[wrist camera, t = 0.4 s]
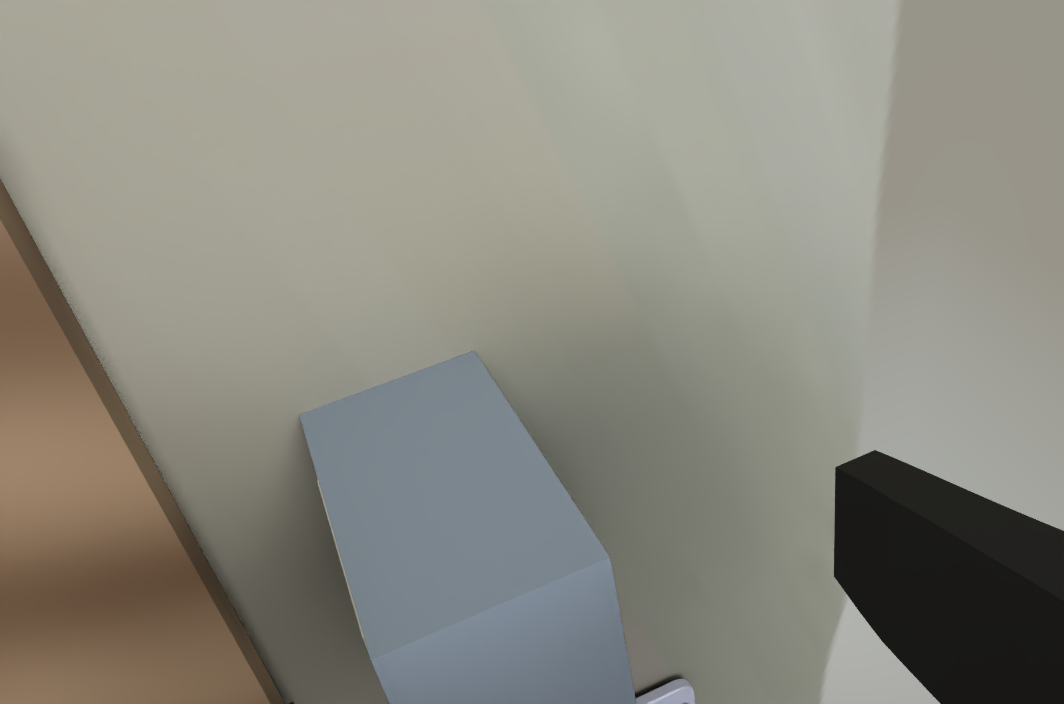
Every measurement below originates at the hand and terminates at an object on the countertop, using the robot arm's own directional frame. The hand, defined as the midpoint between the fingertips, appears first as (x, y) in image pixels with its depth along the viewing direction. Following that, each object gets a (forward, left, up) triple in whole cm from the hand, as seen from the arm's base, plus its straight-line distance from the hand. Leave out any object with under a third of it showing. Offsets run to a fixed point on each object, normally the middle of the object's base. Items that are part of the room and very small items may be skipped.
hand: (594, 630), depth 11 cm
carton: (-5, +1, -10) cm, 11 cm away
